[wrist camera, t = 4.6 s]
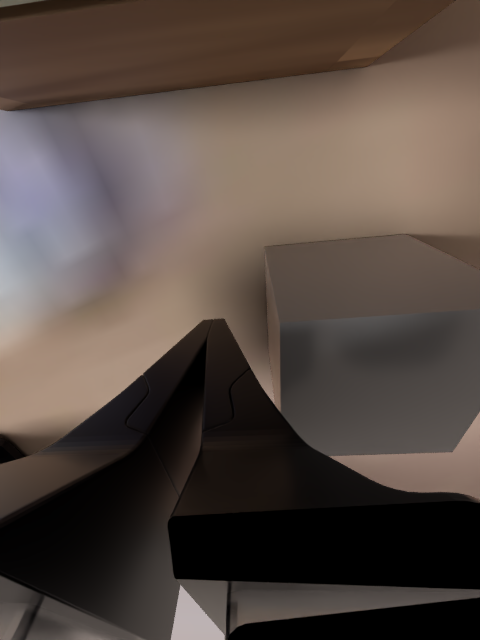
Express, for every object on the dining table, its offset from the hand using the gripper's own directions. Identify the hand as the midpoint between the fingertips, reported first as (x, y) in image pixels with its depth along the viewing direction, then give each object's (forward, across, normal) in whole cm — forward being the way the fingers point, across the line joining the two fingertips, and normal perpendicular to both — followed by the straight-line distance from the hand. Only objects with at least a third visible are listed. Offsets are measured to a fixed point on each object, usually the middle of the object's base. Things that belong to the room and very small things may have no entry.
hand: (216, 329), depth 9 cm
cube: (+2, -4, 0) cm, 5 cm away
